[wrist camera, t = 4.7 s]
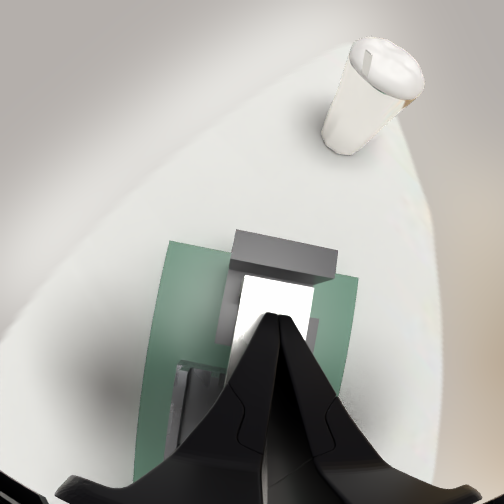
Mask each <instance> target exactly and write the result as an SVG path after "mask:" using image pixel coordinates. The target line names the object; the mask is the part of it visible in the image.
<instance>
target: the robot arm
mask: <svg viewBox="0 0 504 504" xmlns="http://www.w3.org/2000/svg"><path fill="white" fill-rule="evenodd" d="M336 395H337V394H336V392H335V391H334V389H333V387H332V386H331V384H330V382H329V380H328V379H327V377H326V375H325V374H324V372H323V370H322V368H321V367H320V365H319V363H318V362H317V360H316V358H315V357H314V355H313V353H312V351H311V350H310V348H309V346H308V345H307V343H306V341H305V339H304V338H303V336H302V334H301V333H300V331H299V329H298V328H297V326H296V324H295V322H294V321H293V319H292V317H291V316H289V315H284V314H277V313H272V312H265V313H264V315H263V317H262V319H261V321H260V323H259V325H258V326H257V328H256V330H255V332H254V334H253V336H252V338H251V340H250V341H249V343H248V345H247V347H246V349H245V351H244V352H243V354H242V356H241V358H240V360H239V362H238V363H237V365H236V367H235V369H234V371H233V372H232V374H231V376H230V378H229V380H228V381H227V384H226V385H225V386H224V388H223V390H222V392H221V393H220V395H219V397H218V398H217V400H216V401H215V403H214V405H213V406H212V407H211V409H210V410H209V411H208V413H207V414H206V415H205V416H204V418H203V419H202V420H201V421H200V423H199V424H198V425H197V426H196V427H195V428H194V430H193V431H192V432H191V433H190V434H189V436H188V437H187V438H186V439H185V440H184V441H183V442H182V444H181V445H180V446H179V447H178V448H177V449H176V450H175V451H174V452H173V453H172V454H171V455H170V456H169V457H168V458H167V459H165V460H164V461H163V462H161V463H160V464H159V465H157V466H156V467H155V468H153V469H152V470H151V471H149V472H148V473H146V474H145V475H144V476H142V477H141V478H139V479H138V480H137V481H135V482H134V483H132V484H131V485H129V486H127V487H123V488H110V487H106V486H103V485H101V484H98V483H95V482H93V481H90V480H88V479H85V478H82V477H79V476H75V475H71V476H70V477H69V478H68V479H67V480H66V481H65V482H64V483H63V484H62V485H61V486H60V487H59V488H58V490H57V491H56V493H55V496H56V497H58V498H59V499H61V500H63V501H65V502H67V503H69V504H263V489H262V463H263V455H264V451H265V444H266V438H267V488H268V489H267V504H473V503H475V502H477V501H479V500H481V499H482V496H481V494H480V493H479V492H478V491H477V490H476V489H474V488H472V487H471V486H469V485H463V486H460V487H457V488H454V489H443V488H439V487H436V486H433V485H431V484H428V483H426V482H424V481H421V480H419V479H417V478H414V477H412V476H410V475H408V474H405V473H403V472H401V471H399V470H397V469H395V468H393V467H391V466H390V465H389V464H387V463H386V462H385V461H384V460H383V459H382V458H381V457H380V456H379V454H378V453H377V452H376V451H375V449H374V448H373V447H372V445H371V444H370V443H369V441H368V440H367V439H366V437H365V436H364V435H363V434H362V432H361V431H360V430H359V428H358V427H357V425H356V424H355V423H354V421H353V420H352V418H351V417H350V415H349V414H348V412H347V411H346V409H345V407H344V406H343V404H342V402H341V401H340V399H339V397H338V396H336ZM0 504H49V503H48V501H47V500H46V498H45V497H44V496H42V495H40V494H38V493H36V492H35V491H33V490H31V489H29V488H28V487H26V486H24V485H23V484H21V483H19V482H18V481H16V480H14V479H13V478H11V477H10V476H8V475H7V474H5V473H4V472H2V471H1V470H0ZM483 504H504V494H502V495H500V496H498V497H496V498H494V499H492V500H490V501H488V502H485V503H483Z"/></svg>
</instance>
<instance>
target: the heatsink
mask: <svg viewBox="0 0 504 504" xmlns="http://www.w3.org/2000/svg"><path fill="white" fill-rule="evenodd" d="M226 372H227V369H226V368H221V367H215V366H210V365H205V364H200V363H195V362H191V361H186V360H180V361H179V363H178V364H177V368H176V374H175V380H174V386H173V393H172V400H171V406H170V413H169V420H168V428H167V435H166V443H165V451H164V460H165V459H167V458H168V457H169V456H170V455H171V454H172V453H173V452H174V451H175V450H176V449H177V448H178V447H179V446H180V445H181V444H182V442H183V441H184V440H185V439H186V438H187V437H188V436H189V434H190V433H191V432H192V431H193V430H194V428H195V427H196V426H197V425H198V424H199V423H200V421H201V420H202V419H203V418H204V416H205V415H206V414H207V413H208V411H209V410H210V409H211V407H212V406H213V405H214V403H215V401H216V400H217V398H218V397H219V395H220V393H221V392H222V390H223V388H224V383H225V378H226ZM164 460H163V461H164Z"/></svg>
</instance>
